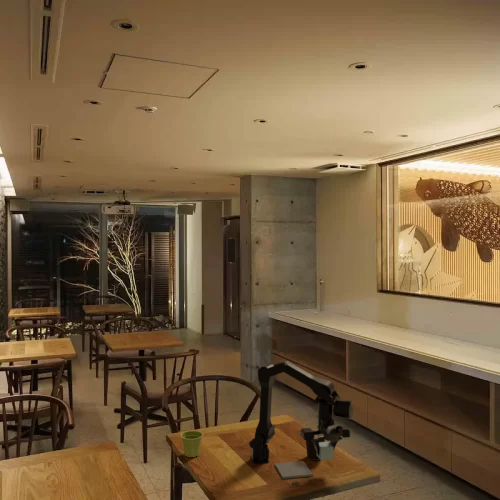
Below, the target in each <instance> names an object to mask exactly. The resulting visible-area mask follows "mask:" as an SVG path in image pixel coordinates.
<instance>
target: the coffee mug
mask: <svg viewBox="0 0 500 500" xmlns="http://www.w3.org/2000/svg"><path fill="white" fill-rule="evenodd" d="M312 430H313V431H316V430H317V429H312ZM318 439H319V440H320V442H326V440H325V437H324V435H320V436H318ZM305 447H306V456H307V458H308V460H310V461H311V460H312V461H321V460H320V459H319V457H318V456H317V452H316V449H315V446H314V443H313V442H312V441H311V440H305Z"/></svg>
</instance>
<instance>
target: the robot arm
mask: <svg viewBox="0 0 500 500" xmlns="http://www.w3.org/2000/svg"><path fill="white" fill-rule="evenodd" d="M283 373H284V374H286V375H288V376H290V377H291V378H293V379H294V380H296V381H298V382H300V383H301V384H303V385H305V386H306V387H308V388H309V389H310V390H311V391H312V392H313V393H314V394H315V395H316V397H315V398H314V399H313V400H312V403H315V404H317V415H316V419H317V425H316V429H315V430H316V431H313V430H314V429H312V428H311V427H302V428H301V429H300V431H299V432H300V433H299V436H300V437H301V438H302V439H303V441H306V440H311V441H312V442H313V443H314V446H315V449H316V452H317V454H318V456H319V453H320V451H319V442H320V440H319V439H318V436H320V435H324V437H325V442H330V443H331V445H332V446H333V447H334V448H333V452H334V451H335V449H336V446H337V444H338V443H339V442H340V441H341V440H343V438H344V439H345V438H351V430H350V429H349V428H348V427H347V426H345V425H335V419H334V416H335V417H336V418H341V419H348V420H352V418H353V415H354V406H353V404H352V400H351V399H341V397H340V395H339V393H338V392H337V390H336V387H335V386H334V385H335V384H334V383H333V382H332V381H330V380H327V379H324V378H321V377H316V376H314V375H313V374H311V373H309V372H307V371H305V370H304V369H302V368H300V367H298V366H297V365H295V364H293V363H292V362H290V361H289V360H284V361H281V362H277V363H274V364H273V363H266V364H264V365H262V366H260V367H259V368H258V370H257V380H258V384H259V385H260V396H259V399H260V400H259V420H258V423H257V426H256V428H255V433H254V438H252V439H251V440H250V441H249V442H248V444H249V447H250V449H251V452H250V453H251V455H250V456H249V457H250V460H251V462H252V464H264V463H269V462H270V461H269V460H270V449H269V447H268V444H269V442H270V441H271V440H272V439H273V437H274V435H276V430H275V429H276V425H275V424H273V423H272V421H271V417H272V414H271V413H272V398H273V397H272V395H273V394H272V393H273V385H274V383H275V380H276V376H277V375H280V374H283Z"/></svg>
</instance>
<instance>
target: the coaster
mask: <svg viewBox="0 0 500 500" xmlns="http://www.w3.org/2000/svg"><path fill="white" fill-rule="evenodd" d="M274 466H275V468H276V470H277V471H278V474H279V475H280V477H281V479H284V480H286V479H297V478H306V477H308V478H309V477H313V476H314V474H313V473H312V471H311V469H310V468H309V467H308V465H307V464H306V462H305V461H304V460H301V461H300V460H299V461H288V462H277V463H276V462H275V463H274Z"/></svg>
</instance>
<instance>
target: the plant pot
mask: <svg viewBox="0 0 500 500" xmlns="http://www.w3.org/2000/svg"><path fill="white" fill-rule="evenodd" d="M203 436H204V433H203V432H202V431H199V430H187V431H184V432H182V433H181V434H180V438H181V441H182V446H183V454H184V457H186V456H187V457H186V458H188V457H193V458H197V457H199V455H200V450H201V443H202V442H201V441H202V439H203ZM196 456H197V457H196Z"/></svg>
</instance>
